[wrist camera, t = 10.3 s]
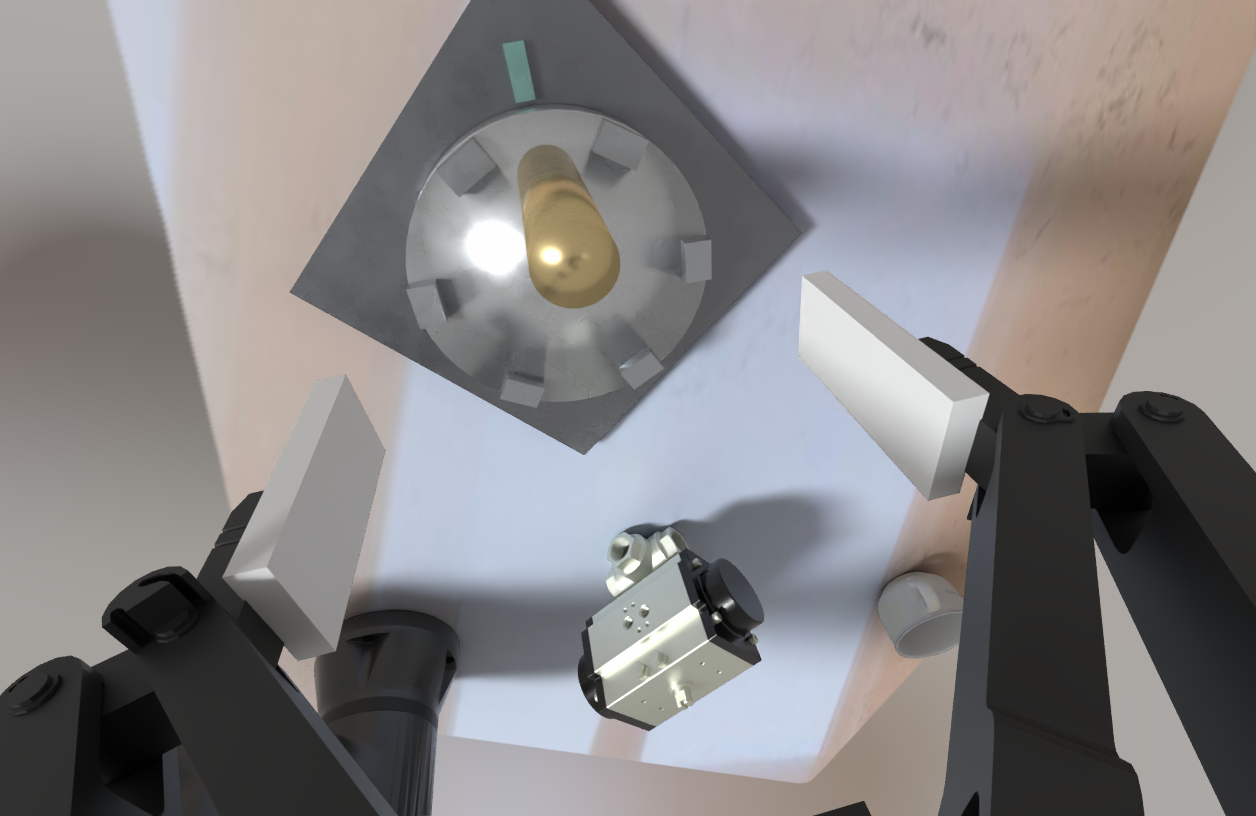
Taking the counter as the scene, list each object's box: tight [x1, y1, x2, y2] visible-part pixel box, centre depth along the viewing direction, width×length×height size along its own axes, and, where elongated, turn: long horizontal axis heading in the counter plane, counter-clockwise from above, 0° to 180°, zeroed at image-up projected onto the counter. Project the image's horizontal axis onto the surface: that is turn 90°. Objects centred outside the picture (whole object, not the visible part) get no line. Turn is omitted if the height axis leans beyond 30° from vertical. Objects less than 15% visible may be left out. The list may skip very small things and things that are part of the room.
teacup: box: [878, 572, 964, 658], centre depth 74 cm, size 14×11×8 cm
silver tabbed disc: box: [406, 104, 712, 408], centre depth 33 cm, size 20×20×18 cm
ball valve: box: [578, 527, 764, 731], centre depth 56 cm, size 18×8×18 cm, turn 132°
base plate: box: [290, 0, 801, 455], centre depth 41 cm, size 26×26×3 cm
